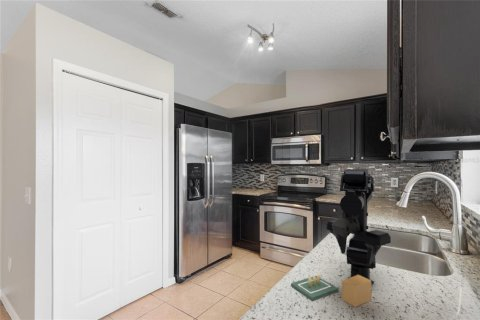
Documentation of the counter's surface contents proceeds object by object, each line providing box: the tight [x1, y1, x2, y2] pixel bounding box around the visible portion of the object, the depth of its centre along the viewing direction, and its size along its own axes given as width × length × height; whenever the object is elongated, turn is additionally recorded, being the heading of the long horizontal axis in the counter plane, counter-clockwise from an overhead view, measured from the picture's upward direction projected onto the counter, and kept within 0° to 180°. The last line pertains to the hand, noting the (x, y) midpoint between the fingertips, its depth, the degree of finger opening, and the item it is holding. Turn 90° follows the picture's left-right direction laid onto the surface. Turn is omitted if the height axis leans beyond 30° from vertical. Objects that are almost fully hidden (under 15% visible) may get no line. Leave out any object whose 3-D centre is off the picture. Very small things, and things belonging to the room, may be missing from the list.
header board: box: [290, 274, 339, 302], centre depth 79 cm, size 12×10×4 cm
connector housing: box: [341, 275, 372, 308], centre depth 73 cm, size 8×4×6 cm, turn 118°
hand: (355, 258), depth 73 cm, fingers open, 9 cm apart
